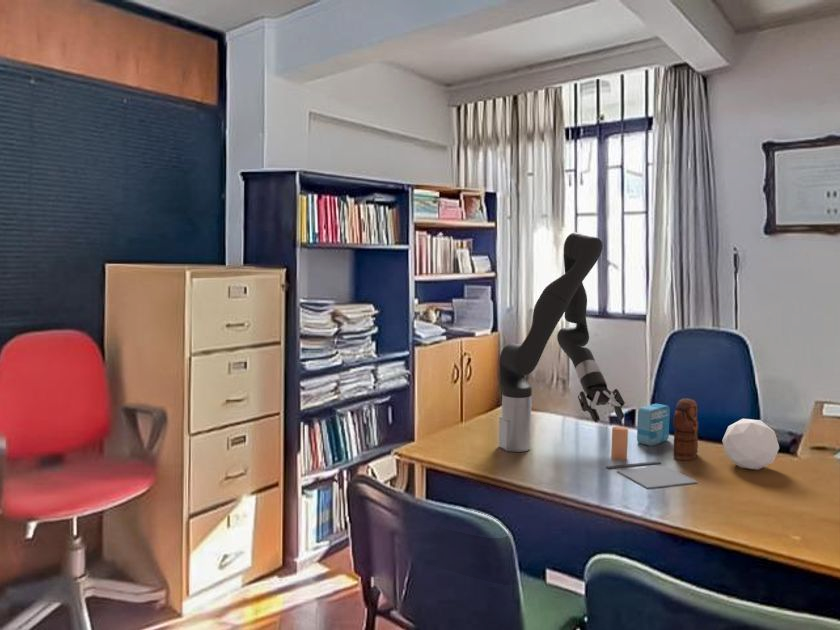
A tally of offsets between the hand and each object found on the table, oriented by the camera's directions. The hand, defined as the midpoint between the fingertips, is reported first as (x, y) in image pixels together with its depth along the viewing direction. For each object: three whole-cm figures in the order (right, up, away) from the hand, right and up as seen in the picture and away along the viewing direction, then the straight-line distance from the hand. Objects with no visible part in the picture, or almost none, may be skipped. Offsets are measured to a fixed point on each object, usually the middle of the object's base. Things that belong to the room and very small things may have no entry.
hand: (609, 420), depth 207 cm
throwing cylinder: (+1, -11, -5) cm, 12 cm away
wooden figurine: (+23, -11, -2) cm, 25 cm away
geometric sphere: (+37, -12, -12) cm, 41 cm away
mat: (+6, -12, -20) cm, 24 cm away
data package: (+18, -10, +13) cm, 24 cm away
